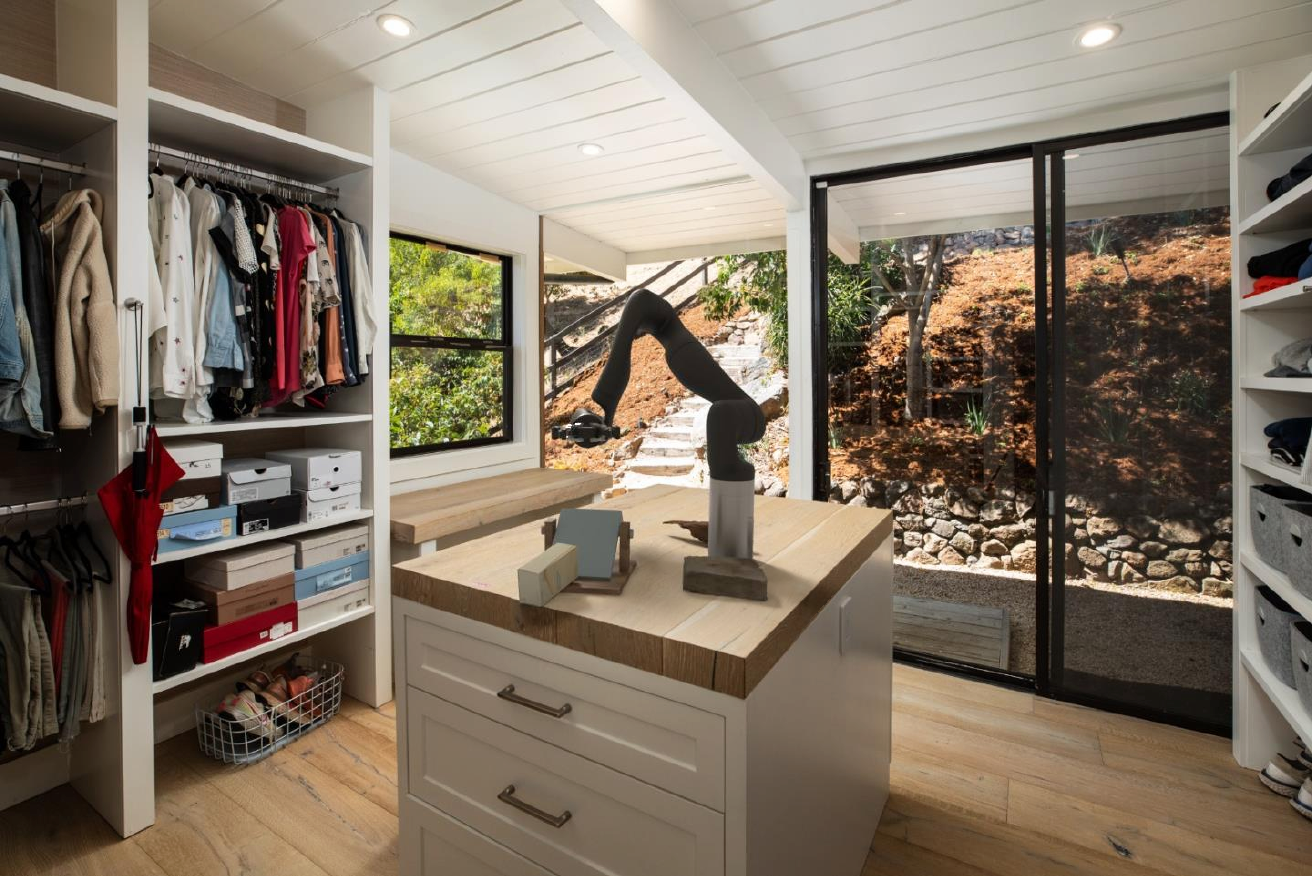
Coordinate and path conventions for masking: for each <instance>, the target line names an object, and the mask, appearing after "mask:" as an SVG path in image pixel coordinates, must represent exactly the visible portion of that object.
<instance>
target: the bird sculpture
mask: <svg viewBox="0 0 1312 876" xmlns="http://www.w3.org/2000/svg"><path fill="white" fill-rule="evenodd" d="M662 524H663V525H664V524H665V525H667V524H668V525H673V524H675V525H678V526H679V528H680V529H683V530H688V531H689V532H690V534H689V535H690V536H691V537H692V538H693V539H697V540H698V541H699V542H702V543H707V544H708V527H709V520H708V521H707V520H700V521H698V520H680V519H678V520H677V519H672V520H666V521H662ZM754 542H755V540H754V539H753V543H754Z"/></svg>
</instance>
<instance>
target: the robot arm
mask: <svg viewBox="0 0 1312 876" xmlns="http://www.w3.org/2000/svg"><path fill="white" fill-rule="evenodd" d="M639 330H641V331H643V332H644V333H647V334H648V335H650V336H652V337H653V338H654V339H655V340H657V342H658V343H660V345H661V346H662V347H663V349H664V351H665V352H664V356H665V357H664V358H665V363H666V364H667V367H668V369H669V370H670V372H671V373H672V374H673V375H674V377H675V378H676V380H677V381H678V383H680V384H681V385H682V387H684V388H685V389H687V390H689V391H690V392H691V393H693V394H695V395H697V396H699V397H700V398H702V399H704V400H706V401H707V402H709V403H711V405H710V407H709V409H708V412H707V415H706V422H705V424H706V425H705V428H706V429H705V433H706V435H705V437H706V461H707V465H708V469H709V486H708V487H709V492H708V494H709V498H708V521H709V527H708V543H707V556H718V557H734V558H741V559H744V558H747V559H753V560H754V542H753V540H754V533H755V532H754V529H755V484H756V483H755V482H756V479H755V478H756V469H755V468H756V467H755V465H754V464H752V463H751V462H747V461H745V460H743V459H742V458H741V457H740V456H739V452H738V446H742V445H750V444H754V443H757V442H759V441H760V440H762V439H763V438H764V436H765V435H766V432H767V420H766V415H765V413H764V410H763V409H762V408H761V407H760V405H759V403H758V402H757V401H756V400H755V399H753V398H752V397H751V396H750V394H748V393H747V392H746V391H745V390H744V389H742V388H741V387H740V386H739V385H738V384H737V383H736V382H735V381H734V380H733V379H732V378H731V377H730V375H729V374H728V373H727V372H726V371H725V369H723V368H722V366H720V364H719V363H718V362H717V361H716V360H715V358H714V357H713V356H712V354H711V353H710V352H709V350H708V349H706V347H705V346H704V345H703V344H702V343H701V341H700V340H699V339H698V338H697V337H696V336H695V335H694V334H693V333H692V332H691V331H690V330H689V329H688V328H687V327H686V326H685V325H684V323H683V320H681V318H680V317H679V315H678V313H677V311H676V310H675V309H674V307H673V306H672V304H671V303H670V302H669V301H668V300H667V299H665V298H663V297H661V296H660V295H658V294H657V293H655V292H653V291H651V290H649V289H647V288H644V287H642V288H638V289H636V290H634V291H633V292H632V293H631V294H630V295H629V297H628V298H627V300H626V302H625V304H624V307H623V310H622V313H621V316H620V319H619V322H618V326H617V328H616V331H615V336H614V338H613V341H612V344H611V348H610V350H609V351H610V352H609V354H608V357H607V360H606V363H605V364H604V367H603V370H602V372H601V373H600V376H599V378H598V379H597V382H596V384H595V386H594V387H593V389H592V392H591V394H590V398H591V400H592V401H593V402H594V403H596V405H598V406H599V407H600V408H601V409H602V410H603V413H604V415H603V416H602V415H600V414H598V413H595V412H594V411H592V410H589V409H587V408H583V407H582V408H578V409H577V410H576V411H575V412H573V414H572V416H571V418H570V420H569V424H567V425H566V426H565V427H564V426H559V425H555V426H553V427H551V440H553V441H556V440H561V441H567V442H573V443H574V444H575V445H576V446H578V447H579V448H582V449H589V450H590V449H594V448H596V447H597V446H603V445H605V444H607V443H608V442H609V441H610V440H612V439H615V440H617V441H618V440H621V438H622V437H621V430H622V429H621V426H619V425H614V419H615V415H616V412H617V408H618V405H619V403H620V402H621V399H622V398H623V395H624V393H625V391H626V389H627V387H628V385H629V382H630V378H631V370H632V369H631V367H632V349H633V343H634V339H635V337H636V334H637V333H638V331H639Z"/></svg>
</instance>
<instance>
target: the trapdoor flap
mask: <svg viewBox="0 0 1312 876" xmlns="http://www.w3.org/2000/svg"><path fill="white" fill-rule="evenodd" d="M622 521H624V516H623V510H617V509H616V510H613V509H594V508H593V509H592V508H590V509H587V508H571V507H570V508H563V507H562V508H561V510H560V513H559V516H558V519H557V523H556V532H555V536H554V540H553V544H552V546H553V545H555V544H556V543H563V544H569V545H574V546H577V556H578V577H577V578H576V579H591V580H609V581H611V577H612V571H613V565H614V559H616V553H617V547H618V541H619V538H620V524H621V523H622Z"/></svg>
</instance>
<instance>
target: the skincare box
mask: <svg viewBox="0 0 1312 876" xmlns="http://www.w3.org/2000/svg"><path fill="white" fill-rule="evenodd" d="M577 577H578V556H577V546H574V545H569V544H563V543H556V544H555V545H553V546H552V547H550V548H549V549H547V550H546V551H544V550H543V552H542V553H541V552H540V554H538V555H537V556H536V557H534V558H532V559H531V560H530V561H528V562H526V563H525V564H523V565H522V566H520V567H519V568H518V569H517V585H518V597H519V603H520V604H524V605H529V606H533V607H538V608H540V607H542V606H543V605H545V604H546V603H547V602H549V601H550V600H551V599H552V598H554V596H556V595H557V594H559V593H561V592H560V591H561V590H562V589H563V588H565V587H566V586H567V585H569V584H570V583H571V582H572V581H574V580H575V579H576V578H577Z"/></svg>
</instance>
